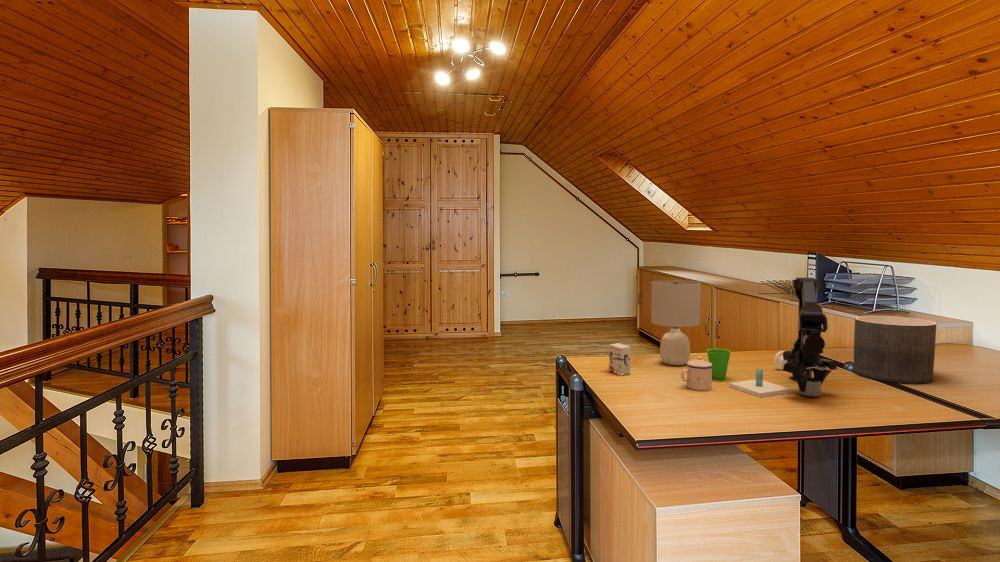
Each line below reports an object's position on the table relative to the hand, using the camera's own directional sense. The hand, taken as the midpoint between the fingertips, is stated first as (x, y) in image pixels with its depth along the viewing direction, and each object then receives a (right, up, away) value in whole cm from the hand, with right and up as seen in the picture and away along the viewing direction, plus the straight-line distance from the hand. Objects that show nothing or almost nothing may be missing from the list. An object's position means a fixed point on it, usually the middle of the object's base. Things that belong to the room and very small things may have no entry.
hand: (809, 390), depth 179 cm
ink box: (-58, 0, +34) cm, 68 cm away
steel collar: (0, -1, 0) cm, 1 cm away
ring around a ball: (+10, +1, +37) cm, 38 cm away
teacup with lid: (-35, -2, +12) cm, 37 cm away
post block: (-13, -2, +8) cm, 16 cm away
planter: (+47, 0, +25) cm, 54 cm away
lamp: (-30, +1, +49) cm, 57 cm away
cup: (-21, -1, +24) cm, 32 cm away
